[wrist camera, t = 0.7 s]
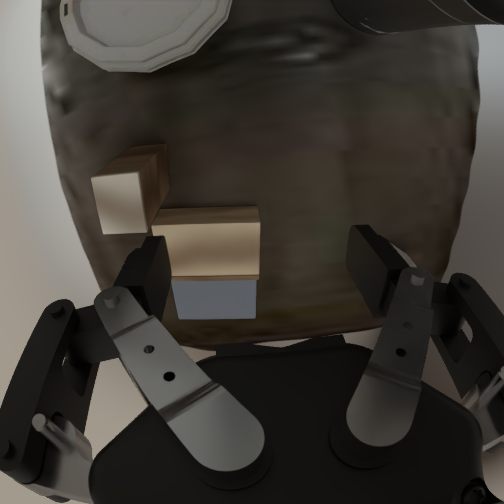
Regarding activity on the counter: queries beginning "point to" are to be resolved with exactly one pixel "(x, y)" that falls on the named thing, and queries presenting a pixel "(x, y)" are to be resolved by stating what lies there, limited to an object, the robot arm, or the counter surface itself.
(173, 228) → the beech step
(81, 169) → the counter surface
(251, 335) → the counter surface
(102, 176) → the walnut block
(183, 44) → the disposable coffee cup
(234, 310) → the rubber mat
